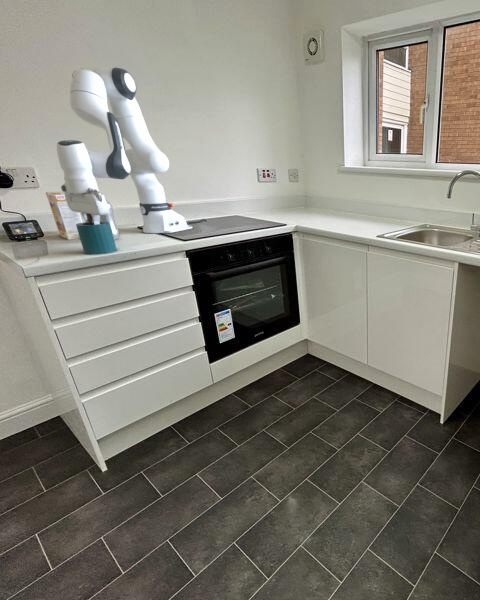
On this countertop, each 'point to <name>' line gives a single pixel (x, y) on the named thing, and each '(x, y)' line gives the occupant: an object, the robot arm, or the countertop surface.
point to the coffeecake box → (64, 215)
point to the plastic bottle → (110, 220)
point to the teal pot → (96, 238)
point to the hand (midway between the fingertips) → (93, 225)
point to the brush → (89, 218)
